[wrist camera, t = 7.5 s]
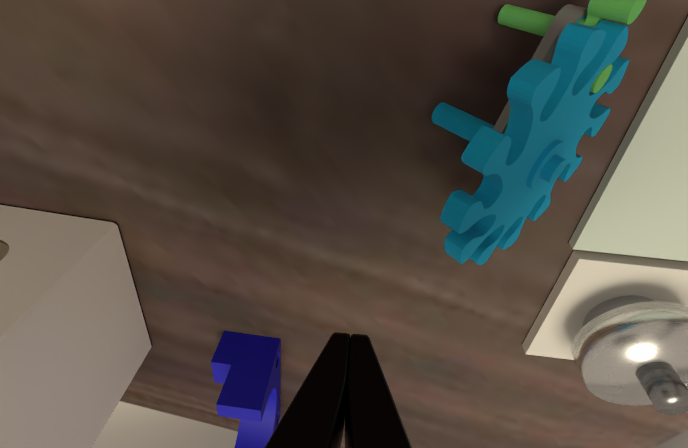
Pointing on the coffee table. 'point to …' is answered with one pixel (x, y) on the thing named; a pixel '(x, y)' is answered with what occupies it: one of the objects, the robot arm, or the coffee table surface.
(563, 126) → the gear
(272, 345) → the blue saddle bracket
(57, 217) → the gable box
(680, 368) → the silver round handled piece
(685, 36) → the mat
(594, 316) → the base
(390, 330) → the coffee table surface
